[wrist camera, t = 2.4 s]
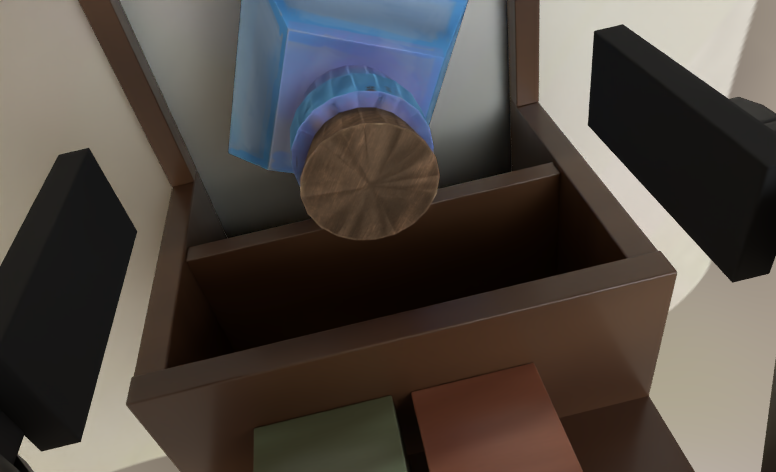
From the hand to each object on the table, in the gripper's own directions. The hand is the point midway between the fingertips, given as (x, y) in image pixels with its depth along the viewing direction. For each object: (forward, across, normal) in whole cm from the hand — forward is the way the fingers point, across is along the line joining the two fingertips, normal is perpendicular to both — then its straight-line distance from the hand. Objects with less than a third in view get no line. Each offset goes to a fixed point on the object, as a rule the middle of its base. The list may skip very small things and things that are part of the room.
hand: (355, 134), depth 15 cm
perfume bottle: (+9, 0, 0) cm, 9 cm away
